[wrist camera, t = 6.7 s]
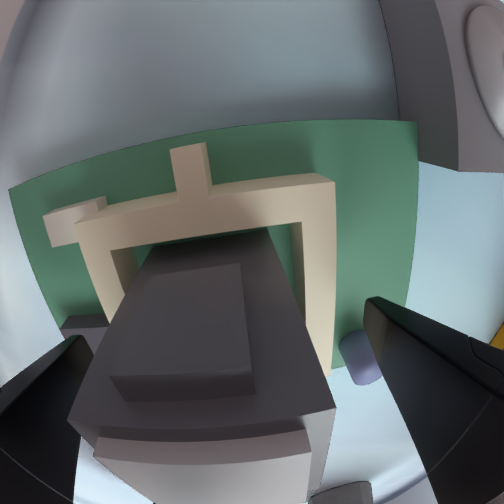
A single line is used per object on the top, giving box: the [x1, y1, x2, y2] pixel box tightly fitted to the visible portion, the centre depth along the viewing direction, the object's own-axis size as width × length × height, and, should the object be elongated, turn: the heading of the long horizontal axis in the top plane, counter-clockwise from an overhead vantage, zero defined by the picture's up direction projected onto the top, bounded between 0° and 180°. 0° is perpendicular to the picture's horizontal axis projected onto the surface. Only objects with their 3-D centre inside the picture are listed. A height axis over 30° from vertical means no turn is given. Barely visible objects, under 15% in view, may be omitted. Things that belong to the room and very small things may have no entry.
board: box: [8, 119, 419, 385], centre depth 10 cm, size 16×11×3 cm
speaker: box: [379, 0, 504, 173], centre depth 7 cm, size 8×8×4 cm
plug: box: [67, 229, 336, 504], centre depth 7 cm, size 4×5×7 cm
